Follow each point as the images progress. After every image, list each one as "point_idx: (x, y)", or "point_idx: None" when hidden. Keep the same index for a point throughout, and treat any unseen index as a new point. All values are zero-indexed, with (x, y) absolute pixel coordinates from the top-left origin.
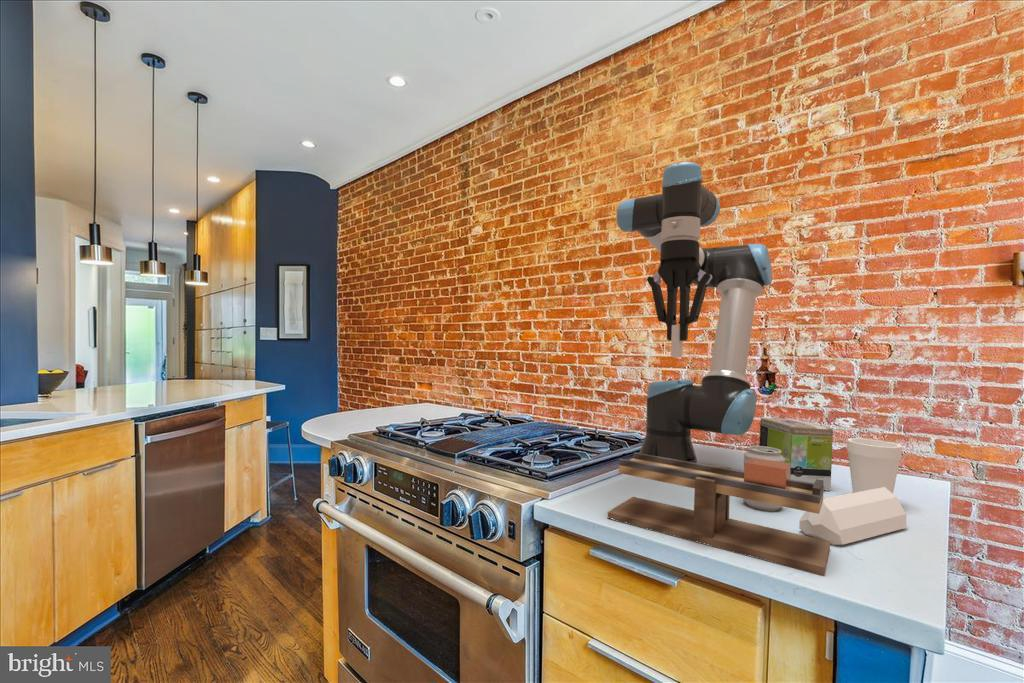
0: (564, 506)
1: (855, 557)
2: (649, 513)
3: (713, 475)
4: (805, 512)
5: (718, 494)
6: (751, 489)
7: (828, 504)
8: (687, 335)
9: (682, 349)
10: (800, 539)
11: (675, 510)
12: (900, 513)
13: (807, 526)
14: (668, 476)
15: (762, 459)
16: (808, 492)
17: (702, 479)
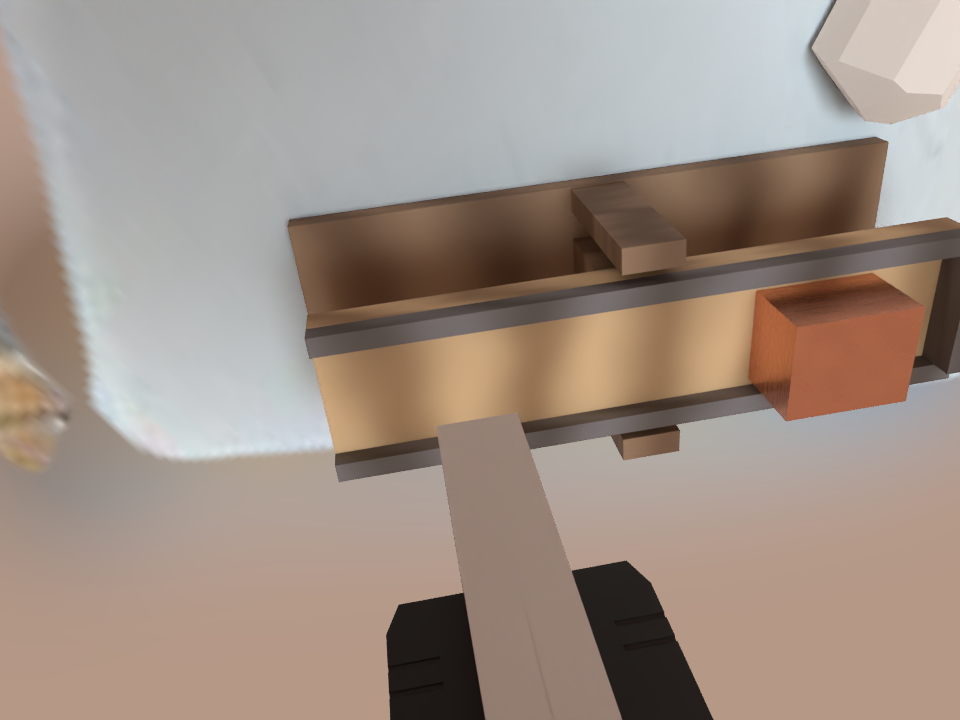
0: (174, 420)
1: (928, 148)
2: None
3: (642, 330)
4: (860, 71)
5: None
6: None
7: (951, 88)
8: (664, 622)
9: (535, 466)
10: (817, 193)
11: (467, 244)
12: None
13: (844, 92)
14: None
15: (837, 326)
16: (921, 279)
17: (645, 455)
